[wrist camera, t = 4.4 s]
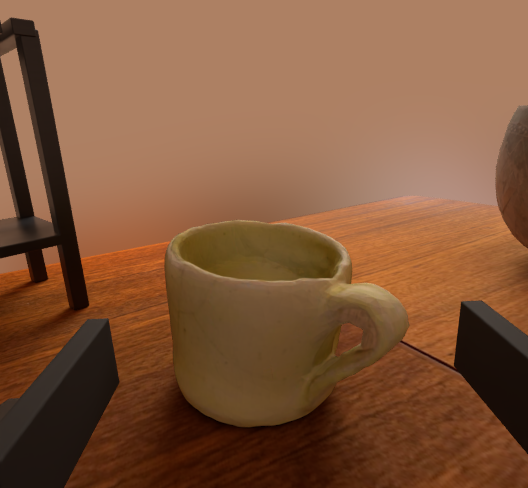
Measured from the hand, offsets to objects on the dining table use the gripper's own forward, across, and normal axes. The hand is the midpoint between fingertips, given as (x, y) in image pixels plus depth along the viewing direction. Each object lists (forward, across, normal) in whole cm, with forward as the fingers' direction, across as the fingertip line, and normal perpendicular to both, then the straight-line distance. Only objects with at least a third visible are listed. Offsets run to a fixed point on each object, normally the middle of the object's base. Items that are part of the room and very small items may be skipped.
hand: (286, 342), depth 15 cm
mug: (+5, 0, -6) cm, 8 cm away
